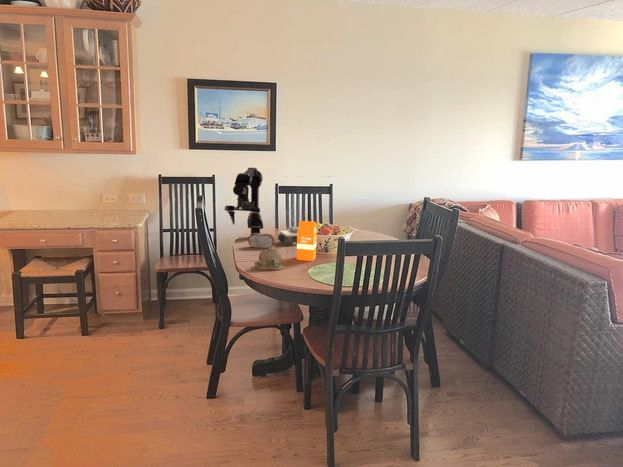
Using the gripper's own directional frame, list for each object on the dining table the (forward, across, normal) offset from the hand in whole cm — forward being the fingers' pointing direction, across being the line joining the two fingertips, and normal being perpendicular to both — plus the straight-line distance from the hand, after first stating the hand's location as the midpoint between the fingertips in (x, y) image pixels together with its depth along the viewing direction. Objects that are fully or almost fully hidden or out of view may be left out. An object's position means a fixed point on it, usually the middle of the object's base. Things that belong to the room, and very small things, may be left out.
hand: (241, 224), depth 256 cm
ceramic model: (+20, +4, -34) cm, 39 cm away
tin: (+13, +13, +3) cm, 19 cm away
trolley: (+10, +33, +7) cm, 35 cm away
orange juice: (+16, +28, -26) cm, 41 cm away
